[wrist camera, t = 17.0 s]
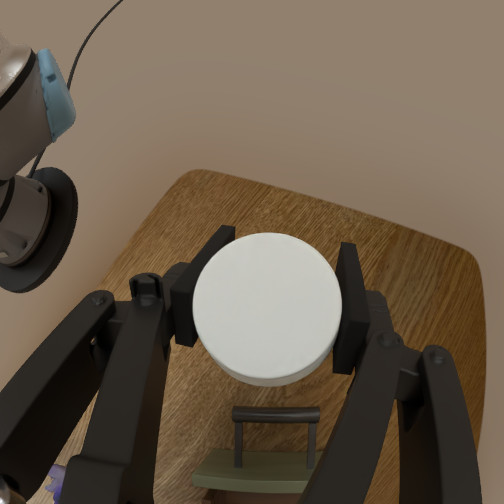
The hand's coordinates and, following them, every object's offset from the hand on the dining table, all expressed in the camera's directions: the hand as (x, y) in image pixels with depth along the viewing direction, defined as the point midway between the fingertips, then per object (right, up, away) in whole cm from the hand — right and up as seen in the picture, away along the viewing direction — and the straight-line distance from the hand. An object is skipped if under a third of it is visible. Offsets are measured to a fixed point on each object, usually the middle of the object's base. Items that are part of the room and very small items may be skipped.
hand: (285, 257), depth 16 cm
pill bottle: (0, -5, +2) cm, 5 cm away
